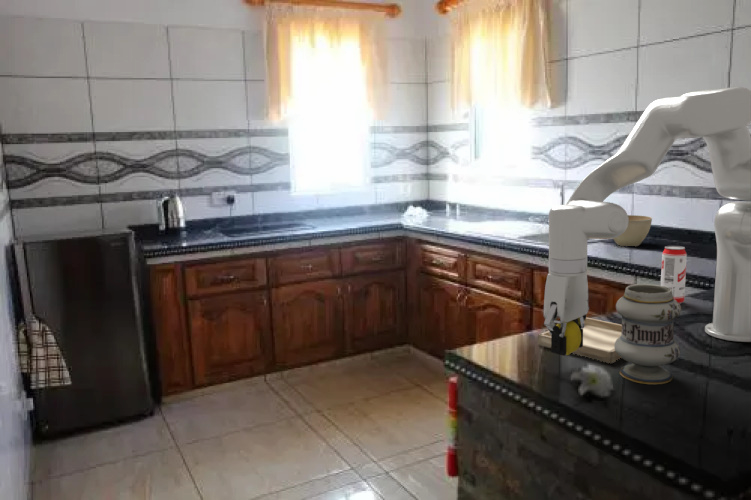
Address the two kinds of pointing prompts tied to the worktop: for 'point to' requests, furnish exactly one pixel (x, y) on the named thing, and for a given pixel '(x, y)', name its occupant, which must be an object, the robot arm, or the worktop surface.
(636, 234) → the beige bowl
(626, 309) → the apothecary jar
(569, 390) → the worktop surface
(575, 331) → the lemon
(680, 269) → the beer can
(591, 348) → the birch tray
